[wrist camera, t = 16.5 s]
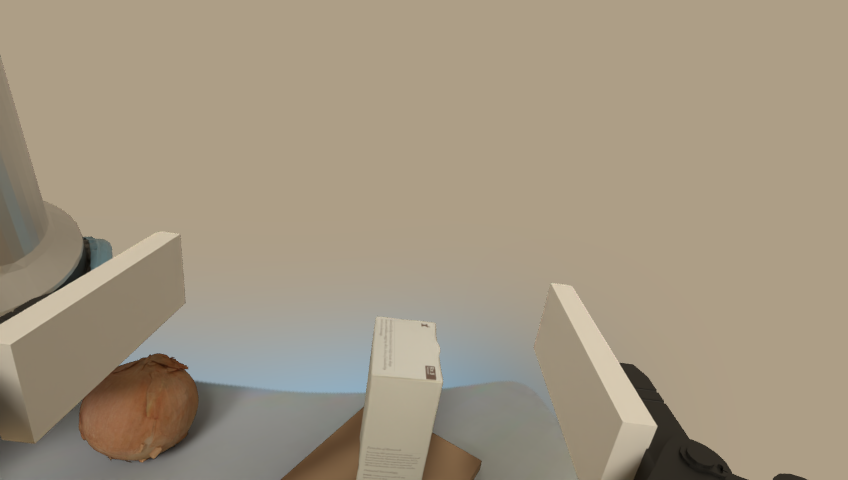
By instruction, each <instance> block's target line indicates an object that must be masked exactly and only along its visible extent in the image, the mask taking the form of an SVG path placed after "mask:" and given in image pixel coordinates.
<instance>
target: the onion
mask: <svg viewBox="0 0 848 480" xmlns="http://www.w3.org/2000/svg"><path fill="white" fill-rule="evenodd" d="M184 369H188V367H187V366H186V365H184V364H181V363H179V362H178V361H176V359H173V357H172V358H169V357H168V356H167V355H164V354H154V355H149V356H148V357H147V358H141V359H140V360H137V361H134V362H130V363H127V364H124V365H121V366H118V367H116V368H115V369H114V370H113V371H112V372H111V373H110V374H109V375H108V376H107V377H106V378H105V379H104V380H103V381H102V382H100V383H99V384H98V385H97V386H96V387H95V388H94V389H93V390H92V391H91V392H90V393H89V394H88V395H86V396H85V397H84V399H83V401H82V403H81V408H80V413H79V430H80V432H81V437H82V438H83V440H87V442H88V443H89V445H90V446H91V447H92V448H93V449H95V450H96V451H98V452H100V453H102V454H104V455H106V456H108V458H109V459H110V460H111V459H120V460H125V461H127V460H139V462H143V461H144V460H147V459H149V458H154V459H155V458H156V457H157V456H158V454H159V453H161V452H164V451H166V450H167V449H169V448H170V447H172V446H173V447H174V446H175V444H178V443H179V442H180V441H181V440H182V439H184V438H185V437H186V436H187V434H188V431H189V428H190V426H191V425H192V423H193V420H194V418H195V415H196V412H197V408H198V392H197V387H196V385H195V382H194V380H193V379H192V377H191V376H190V375H189V374H188V373H187V372H186V371H185V370H184ZM128 462H130V461H128Z"/></svg>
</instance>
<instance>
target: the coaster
mask: <svg viewBox="0 0 848 480" xmlns="http://www.w3.org/2000/svg"><path fill="white" fill-rule="evenodd" d="M363 411H364V407H363V408H362V409H361V410H359V411H358V412H357V413H356V414H355V415H354V416H353V417H351V418H350V419H349V420H348V421H347V422H346V423H345V424H344V425H342V426H341V427H340V428H339V429H338V430H337V431H336V432H334V433H333V434H332V435H331V436H330V437H329V438H328V439H326V440H325V441H324V442H323V443H322V444H321V445H320V446H318V447H317V448H316V449H315V450H314V451H313V452H312V453H310V454H309V455H308V456H307V457H306V458H305V459H304V460H302V461H301V462H300V463H299V464H298V465H297V466H296V467H295V468H293V469H292V470H291V471H290V472H289V473H288V474H287V475H285V476H284V477H283V478H282V479H281V480H356V478H357V471H358V463H359V450H360V432H361V425H362V418H363ZM481 462H482V461H481V460H479V459H477V458H476V457H474V456H472V455H470V454H469V453H467V452H465V451H463V450H462V449H460V448H458V447H457V446H455V445H453V444H451V443H450V442H448V441H446V440H444V439H443V438H441V437H439V436H437V435H436V434H434V433H432V435H431V440H430V444H429V449H428V454H427V458H426V463H425V467H424V472H423V477H422V480H474V478H475V476H476V475H477V473H478V472H479V470H480V466H481Z"/></svg>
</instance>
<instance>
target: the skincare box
mask: <svg viewBox="0 0 848 480" xmlns="http://www.w3.org/2000/svg"><path fill="white" fill-rule="evenodd" d="M439 354H440V346H439V344H438V343H437V337H436V324H435V323H433V322H425V321H415V320H404V319H395V318H388V317H376V320H375V327H374V334H373V342H372V350H371V357H370V365H369V374H368V382H367V389H366V396H365V404H364V411H363V418H362V425H361V432H360V450H359V463H358V471H357V478H356V480H422V477H423V472H424V467H425V463H426V458H427V454H428V449H429V444H430V440H431V435H432V431H433V426H434V421H435V417H436V413H437V408H438V404H439V399H440V394H441V390H442V385H443V378H442V372H441V367H440V359H439Z"/></svg>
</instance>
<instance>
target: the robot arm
mask: <svg viewBox="0 0 848 480" xmlns="http://www.w3.org/2000/svg"><path fill="white" fill-rule="evenodd" d="M180 237H181V235H180V234H176V233H168V232H161V231H158V232H156V233H154V234H153V235H151V236H149V237H148V238H146V239H144V240H143V241H141V242H139V243H137V244H136V245H134V246H132V247H131V248H129V249H127V250H126V251H124V252H122V253H121V254H119V255H117V256H115V257H114V258H112V247H111V245H110V243H109V242H108V241H106V240H104V239H95V238H93V237H82V234H81V232H80V229H79V227H78V225H77V223H76V222H75V221H74V220H73V218H72V217H71V216H70V215H68V214H67V213H66V212H65V211H63V210H62V209H60V208H58V207H57V206H54V205H52V204H50V203H48V202H46V201H43V200H42V197H41V193H40V190H39V187H38V183H37V179H36V176H35V173H34V169H33V166H32V162H31V159H30V156H29V152H28V149H27V145H26V142H25V138H24V135H23V132H22V128H21V125H20V121H19V118H18V114H17V111H16V108H15V104H14V101H13V98H12V94H11V91H10V87H9V84H8V80H7V77H6V73H5V70H4V67H3V63H2V60H1V56H0V436H1V439H2V440H8V441H16V442H24V443H33V444H35V443H36V442H37V441H38V440H39V439H41V438H42V437H43V436H44V435H45V434H46V433H47V432H48V431H49V430H50V429H51V428H52V427H53V426H54V425H55V424H57V423H58V422H59V421H60V420H61V419H62V418H63V417H64V416H65V415H66V414H67V413H68V412H69V411H70V410H72V409H73V408H74V407H75V406H76V405H77V404H78V403H79V402H80V401H81V400H82V399H83V398H84V397H85V396H86V395H88V394H89V393H90V392H91V391H92V390H93V389H94V388H95V387H96V386H97V385H98V384H99V383H100V382H102V381H103V380H104V379H105V378H106V377H107V376H108V375H109V374H110V373H111V372H112V371H113V370H114V369H115V368H116V367H117V366H119V365H120V364H121V363H122V362H123V361H124V360H125V359H126V358H127V357H128V356H129V355H130V354H131V353H132V352H133V351H135V350H136V349H137V348H138V347H139V346H140V345H141V344H142V343H143V342H144V341H145V340H146V339H147V338H148V337H149V336H150V335H152V333H154V332H155V331H156V330H157V329H158V328H159V327H160V326H161V325H162V324H163V323H164V322H165V321H167V320H168V319H169V318H170V317H171V316H172V315H173V314H174V313H175V312H176V311H177V310H178V309H179V308H180V307H182V306H183V304H185V289H184V275H183V262H182V249H181V238H180ZM534 350H535V353H536V356H537V359H538V362H539V365H540V368H541V371H542V374H543V377H544V380H545V382H546V385H547V389H548V391H549V395H550V397H551V400H552V403H553V406H554V409H555V412H556V415H557V418H558V421H559V424H560V427H561V430H562V433H563V436H564V439H565V442H566V445H567V448H568V451H569V454H570V457H571V459H572V462H573V465H574V468H575V471H576V474H577V477H578V480H747V479H744V478H741V477H739V476H736V475H734V474H732V472H731V470H730V469H729V467H728V465H727V463H726V462H725V461H724V460H723V459H722V458H721V457H720V456H719V455H718V454H716V453H715V452H714V451H712V450H711V449H709V448H708V447H706V446H705V445H703V444H701V443H698V442H696V441H694V440H690V439H689V438H688V436H687V435H686V433H685V432H684V430H683V429H682V427H681V426H680V424H679V423H678V421H677V420H676V418H675V417H674V415H673V414H672V412H671V411H670V409H669V408H668V406H667V405H666V404H664V401H663V400H662V398H661V396H660V395H659V393H657V392H656V389H655V387H654V386H653V384H652V383H651V381H650V380H649V378H648V377H647V376H646V375H645V374H644V373H642V372H641V371H640V370H639V369H638V368H636V367H635V366H634V365H632V364H625V363H619V362H618V361H617V359H616V357H615V356H614V354H613V352H612V351H611V349H610V347H609V346H608V344H607V343H606V341H605V339H604V338H603V336H602V334H601V333H600V331H599V329H598V328H597V326H596V325H595V323H594V321H593V320H592V318H591V316H590V315H589V313H588V311H587V310H586V308H585V306H584V305H583V303H582V301H581V300H580V299H579V297H578V295H577V293H576V292H575V290H574V288H573V287H572V286H570V285H563V284H554V283H551V284H550V288H549V291H548V295H547V299H546V303H545V306H544V310H543V314H542V318H541V322H540V325H539V329H538V333H537V337H536V341H535V345H534ZM773 480H807V479H805V478H802V477H799V476H795V475H792V474H778V475H777V476H775V477H774V478H773Z"/></svg>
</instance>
